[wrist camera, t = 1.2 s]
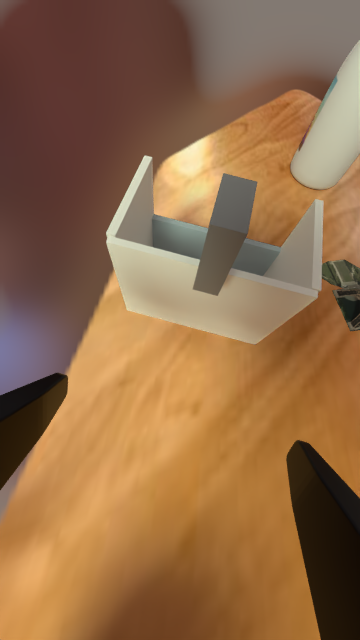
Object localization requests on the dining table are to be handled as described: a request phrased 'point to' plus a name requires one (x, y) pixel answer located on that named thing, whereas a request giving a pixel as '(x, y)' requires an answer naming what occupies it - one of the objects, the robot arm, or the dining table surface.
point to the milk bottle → (332, 131)
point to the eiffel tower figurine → (345, 289)
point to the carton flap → (209, 277)
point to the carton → (187, 239)
